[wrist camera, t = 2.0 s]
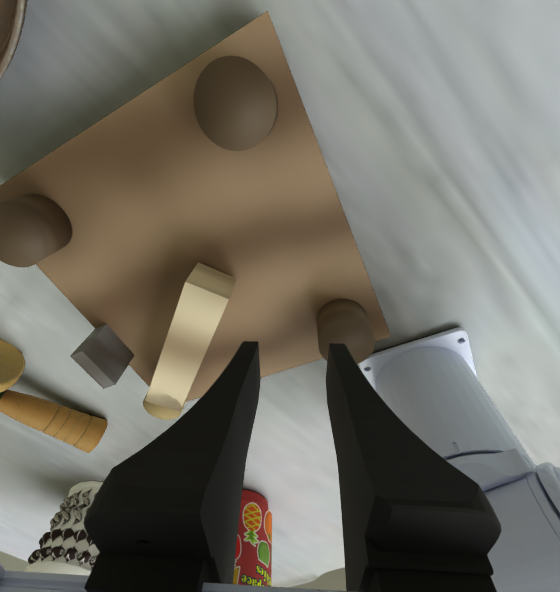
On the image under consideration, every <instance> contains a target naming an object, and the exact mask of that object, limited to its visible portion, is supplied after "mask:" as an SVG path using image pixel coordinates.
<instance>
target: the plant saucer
mask: <svg viewBox="0 0 560 592" xmlns="http://www.w3.org/2000/svg"><path fill="white" fill-rule="evenodd" d="M26 6H27V0H0V78H1V77H2V76H3V74H4V72H5V71H6V69H7V67H8V66H9V64H10V62H11V60H12V58H13V55H14V53H15V51H16V48H17V45H18V42H19V39H20V35H21V32H22V28H23V24H24V19H25V13H26Z"/></svg>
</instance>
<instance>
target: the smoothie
mask: <svg viewBox="0 0 560 592" xmlns="http://www.w3.org/2000/svg"><path fill="white" fill-rule="evenodd" d="M271 561H272V514H271V512H270V511H269V509H268V502H267V500H266V499H265V498H264V497H263V496H261V495H260V494H258V493H256V492H253V491H249V490H242V497H241V506H240V515H239V525H238V535H237V545H236V555H235V566H234V576H233V584H236V585H252V586H268V587H271Z"/></svg>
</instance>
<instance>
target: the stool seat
mask: <svg viewBox="0 0 560 592" xmlns="http://www.w3.org/2000/svg"><path fill="white" fill-rule="evenodd" d="M0 261H2V262H4V263H6V264H9V265H12V266H16V267H29V266H32V265H34V264H36V265H37V266H38V267H39V268H40V269H41V270H42V271H43V273H44V274H45V275H46V276H47V277H48V278H49V279H50V280H51V281H52V282H53V283H54V284H55V285H56V287H57V288H58V289H59V290H60V291H61V292H62V293H63V294H64V295H65V296H66V297H67V298H68V299H69V301H70V302H71V303H72V304H73V305H74V306H75V307H76V308H77V309H78V310H79V311H80V312H81V314H82V315H83V316H84V317H85V318H86V319H87V320H88V321H89V322H90V323H91V324H92V325H93V326H94V328H95V330H94V331H93V332H92V333H91V334H90V335H89V336H88V337H87V338H86V340H85V341H84V342H83V343H82V344H81V345H80V346H79V347H78V348H77V349H76V350H75V351H74V352H73V354H72V355H71V356H70V357H72V358H73V359H74V360H75V361H76V362H77V363H78V364H79V365H80V366H81V367H82V368H83V369H84V370H85V371H86V372H87V373H88V374H89V375H90V376H91V377H92V378H93V379H94V380H95V381H96V382H97V383H98V384H99V385H100V386H101V387H102V388H103V389H104V388H107V387H110V386H112V385H115V384H116V383H117V381H118V380H119V378H120V377H121V375H122V374H123V372H124V371H125V369H126V368H127V366H128V365H130V366H131V367H132V369H133V370H134V371H135V372H136V373H137V374H138V375H139V376H140V377H141V378H142V379H143V380H144V381H145V383H146V384H147V385H148V386H149V387H150V385H151V382H152V379H153V376H154V373H155V370H156V367H157V364H158V361H159V358H160V355H161V352H162V349H163V346H164V343H165V340H166V337H167V335H168V332H169V329H170V326H171V323H172V320H173V317H174V314H175V311H176V308H177V305H178V302H179V299H180V296H181V293H182V290H183V287H184V284H185V281H186V280H187V278H188V277H189V275H190V274H191V272H192V271H193V269H194V268H195V266H196V265H197V263H201V264H203V265H206V266H208V267H210V268H213V269H215V270H218V271H220V272H222V273H225V274H227V275H230V276H232V277H234V278H237V279H236V282H235V284H234V287H233V290H232V293H231V295H230V298H229V300H228V303H227V305H226V307H225V310H224V312H223V314H222V317H221V319H220V321H219V323H218V326H217V328H216V330H215V333H214V335H213V337H212V339H211V342H210V344H209V346H208V349H207V351H206V353H205V356H204V358H203V360H202V362H201V365H200V367H199V369H198V372H197V374H196V376H195V379H194V381H193V383H192V386H191V389H190V391H189V394H188V396H187V399H186V402H187V401H190V400H193V399H196V398H199V397H202V396H203V395H204V394H205V393H206V392H207V390H208V389H209V388H210V387H211V386H212V384H213V383H214V382H215V381H216V380H217V378H218V377H219V376H220V375H221V373H222V372H223V370H224V369H225V368H226V366H227V365H228V364H229V362H230V361H231V359H232V358H233V356H234V355H235V353H236V352H237V350H238V348H239V347H240V345H241V343H242V342H243V341H258V342H259V359H260V377H261V378H262V377H265V376H268V375H271V374H275V373H278V372H281V371H284V370H287V369H290V368H293V367H297V366H300V365H303V364H306V363H309V362H312V361H315V360H319V359H322V358H324V359H325V360H327V361H328V351H329V343H344V344H345V345H346V346H347V347H348V349H349V351H350V353H351V355H352V357H353V358H354V360H355V362H356V363H357V364H359V363H361V362H363V361H364V360H366V359H367V358H368V357H369V356H370V355H371V354H372V352H373V350H374V348H375V341H378V340H381V339H384V338H388V337H391V335H390V332H389V330H388V327H387V325H386V322H385V319H384V317H383V314H382V311H381V309H380V306H379V303H378V301H377V298H376V296H375V293H374V290H373V288H372V285H371V282H370V280H369V277H368V274H367V272H366V269H365V267H364V264H363V261H362V259H361V256H360V253H359V251H358V248H357V245H356V243H355V240H354V237H353V235H352V232H351V230H350V227H349V224H348V222H347V219H346V216H345V214H344V211H343V208H342V206H341V203H340V201H339V198H338V195H337V193H336V190H335V187H334V185H333V182H332V179H331V177H330V174H329V172H328V169H327V166H326V164H325V161H324V158H323V156H322V153H321V150H320V148H319V145H318V143H317V140H316V137H315V135H314V132H313V129H312V127H311V124H310V121H309V119H308V116H307V113H306V111H305V108H304V106H303V103H302V100H301V98H300V95H299V92H298V90H297V87H296V84H295V82H294V79H293V77H292V74H291V71H290V69H289V66H288V63H287V61H286V58H285V55H284V53H283V50H282V48H281V45H280V42H279V40H278V37H277V34H276V32H275V29H274V26H273V24H272V21H271V19H270V16H269V13H268V11H267V12H265V13H264V14H262V15H261V16H259V17H257V18H256V19H254V20H253V21H251V22H250V23H248V24H247V25H245V26H244V27H242V28H241V29H239V30H238V31H236V32H235V33H233V34H231V35H230V36H228V37H227V38H225V39H224V40H222V41H221V42H219V43H218V44H216V45H215V46H213V47H212V48H210V49H209V50H207V51H205V52H204V53H202V54H201V55H199V56H198V57H196V58H195V59H193V60H192V61H190V62H189V63H187V64H186V65H184V66H183V67H181V68H179V69H178V70H176V71H175V72H173V73H172V74H170V75H169V76H167V77H166V78H164V79H163V80H161V81H160V82H158V83H157V84H155V85H153V86H152V87H150V88H149V89H147V90H146V91H144V92H143V93H141V94H140V95H138V96H137V97H135V98H134V99H132V100H131V101H129V102H127V103H126V104H124V105H123V106H121V107H120V108H118V109H117V110H115V111H114V112H112V113H111V114H109V115H108V116H106V117H105V118H103V119H101V120H100V121H98V122H97V123H95V124H94V125H92V126H91V127H89V128H88V129H86V130H85V131H83V132H82V133H80V134H79V135H77V136H75V137H74V138H72V139H71V140H69V141H68V142H66V143H65V144H63V145H62V146H60V147H59V148H57V149H56V150H54V151H53V152H51V153H49V154H48V155H46V156H45V157H43V158H42V159H40V160H39V161H37V162H36V163H34V164H33V165H31V166H30V167H28V168H27V169H25V170H23V171H22V172H20V173H19V174H17V175H16V176H14V177H13V178H11V179H10V180H8V181H7V182H5V183H4V184H2V185H1V186H0Z"/></svg>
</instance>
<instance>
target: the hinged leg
mask: <svg viewBox="0 0 560 592" xmlns="http://www.w3.org/2000/svg"><path fill="white" fill-rule="evenodd" d="M236 279H237V278H234V277H232V276H230V275H227V274H225V273H222V272H220V271H218V270H215V269H213V268H210V267H208V266H206V265H203V264H201V263H197V265H196V266H195V268H194V269H193V271H192V272H191V274H190V275H189V277H188V278H187V280H186V281H185V284H184V287H183V290H182V293H181V296H180V299H179V302H178V305H177V308H176V311H175V314H174V317H173V320H172V323H171V326H170V329H169V332H168V335H167V337H166V340H165V343H164V346H163V349H162V352H161V355H160V358H159V361H158V364H157V367H156V370H155V373H154V376H153V379H152V382H151V385H150V388H149V391H148V393H147V395H146V397H145V399H144V401H143V405H144V408H145V410H146V411H147V412H148V413H149V414H151V415H152V416H154V417H157V418H160V419H165V420H169V419H174V418H177V417H178V416H179V415H180V414H181V412H182V409H183V407H184V404H185V402H186V399H187V396H188V394H189V391H190V389H191V386H192V383H193V381H194V379H195V376H196V374H197V372H198V369H199V367H200V365H201V362H202V360H203V358H204V356H205V353H206V351H207V349H208V346H209V344H210V342H211V339H212V337H213V335H214V333H215V330H216V328H217V326H218V323H219V321H220V319H221V317H222V314H223V312H224V310H225V307H226V305H227V303H228V300H229V298H230V295H231V293H232V290H233V287H234V284H235V282H236Z"/></svg>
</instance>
